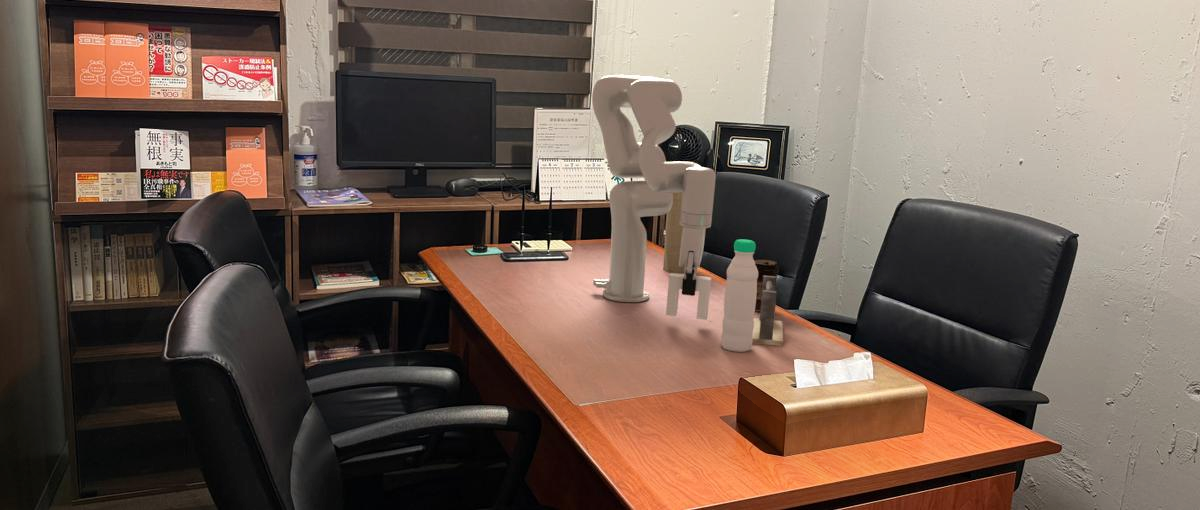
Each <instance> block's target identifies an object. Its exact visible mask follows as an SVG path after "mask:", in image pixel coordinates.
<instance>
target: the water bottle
mask: <svg viewBox="0 0 1200 510" xmlns="http://www.w3.org/2000/svg"><path fill="white" fill-rule="evenodd" d="M756 248H757V247H756V242H755V241H753V240H751V239H742V238H739V239H736V240H735V241H734V243H733V250H734V257H733V258H732V260H731V262H730V264H728V267H727V269H726V281H725V282H726V283H725V289H724V301H723V303H724V304H723V318H722V332H721V337H720V338H721V339H720V345H721V347H722V348H723V350H726V351H729V352H734V353H745V352H749V351H750V350H752V348H753V343H752V340H753V337H752V333H753V328H754V319H753V318H754V317H755V313H756V311H755V306H756V295H757V278H758V270H757V267H756V266H755V261H754V259H755V258H754V254H755V251H756Z"/></svg>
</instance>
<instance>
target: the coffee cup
mask: <svg viewBox="0 0 1200 510" xmlns="http://www.w3.org/2000/svg"><path fill="white" fill-rule="evenodd" d="M754 261H755V266H756V267H757V270H758V278H757V295H756V306H755V312H760V308H761V297H762V286H763V275H765V276H776V279H777V277H778V274H779V271H780V267H779V266H778V265H777V264H778V262H777V261H773V260H770V259H756V260H754ZM776 283H777V280H776V281H775V287H776V285H777V284H776Z"/></svg>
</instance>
